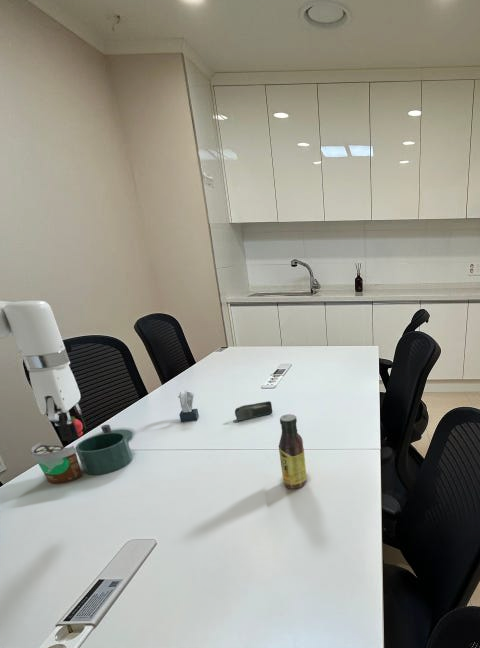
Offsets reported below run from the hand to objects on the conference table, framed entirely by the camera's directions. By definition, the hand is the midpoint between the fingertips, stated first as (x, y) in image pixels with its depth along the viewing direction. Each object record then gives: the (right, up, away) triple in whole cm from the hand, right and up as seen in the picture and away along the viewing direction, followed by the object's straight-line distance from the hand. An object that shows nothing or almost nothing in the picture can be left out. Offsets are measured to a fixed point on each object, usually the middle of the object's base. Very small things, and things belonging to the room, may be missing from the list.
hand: (74, 434), depth 92 cm
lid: (-18, -4, +38) cm, 42 cm away
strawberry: (0, 0, 0) cm, 0 cm away
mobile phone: (+26, +4, +54) cm, 60 cm away
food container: (-17, -14, +17) cm, 28 cm away
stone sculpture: (+2, +3, +54) cm, 54 cm away
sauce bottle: (+50, -14, +12) cm, 53 cm away
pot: (-9, -10, +25) cm, 28 cm away
